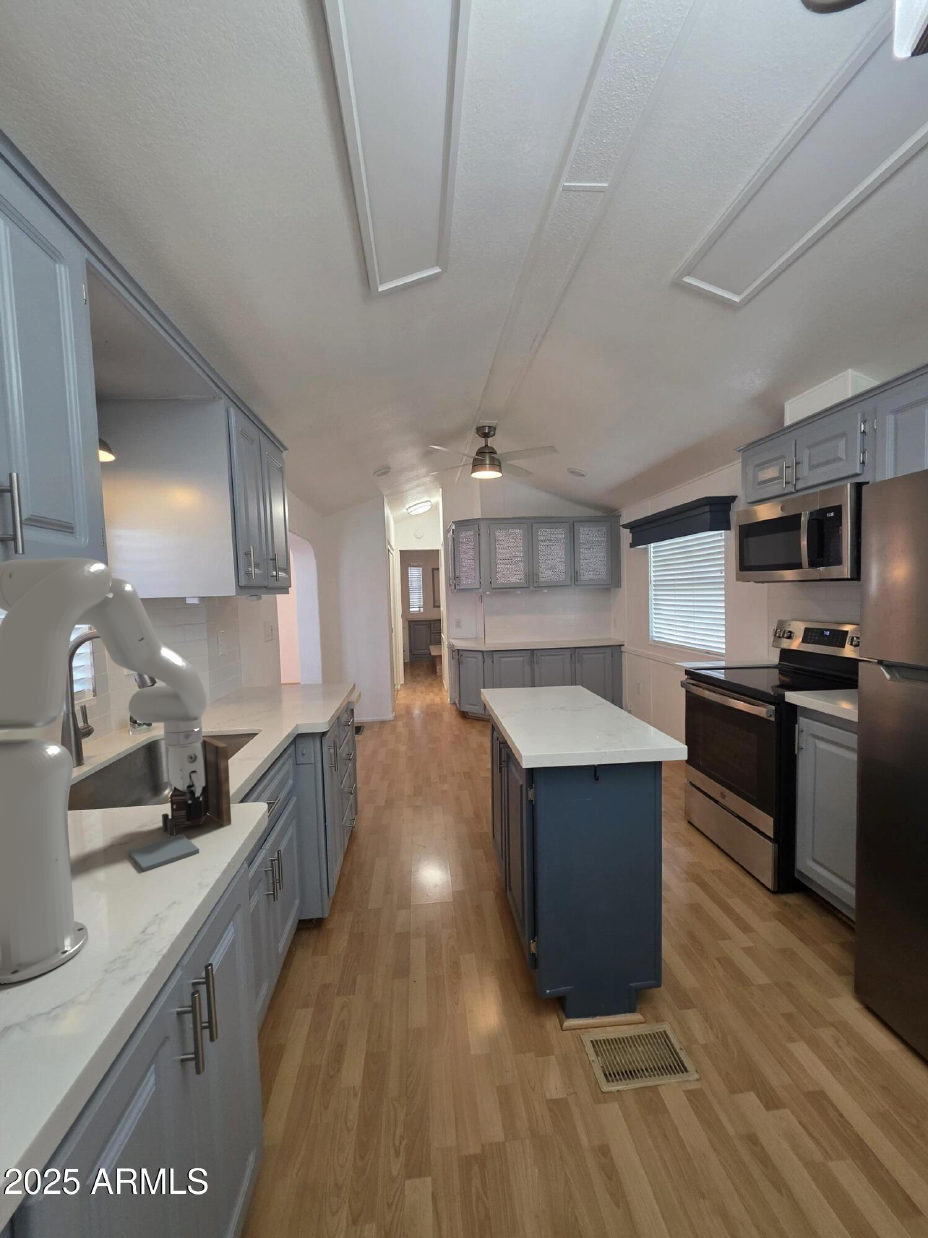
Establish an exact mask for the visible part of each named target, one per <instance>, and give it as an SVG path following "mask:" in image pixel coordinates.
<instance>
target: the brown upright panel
mask: <svg viewBox="0 0 928 1238" xmlns="http://www.w3.org/2000/svg"><path fill="white" fill-rule="evenodd" d="M202 740H203V741H202V742H201V743H200V744H201V747H202V752H203V759H204V769H205V780H206V796H207V813H208V814H209V815H210V816H209V815H208V814H207V815H208V816H209V817H211V818H212V819H213V818H214V821H216V822H218V823H219V824H220V825H222V826H223V827H226V826H229V825H232V812H231V809H232V808H231V807H232V806H231V790H230V789H231V788H230V786H231V785H230V769H229V768H230V767H229V765H230V764H229V749H228V748H229V747H228V746H229V745H227V744H225V743H223V742H221V741H219V740H216V739H214V738H211V737H209V736H202ZM161 823H162V824H161V825H162V826H161V827H162V831H163V832H164V833H166V832H167V835H168V837H169V838H171V837H174V836H176V827H175V824H174V819H173V818H171V817H170V815H169V813H167V812H166V813H163V814H161Z"/></svg>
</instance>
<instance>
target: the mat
mask: <svg viewBox="0 0 928 1238" xmlns="http://www.w3.org/2000/svg"><path fill="white" fill-rule="evenodd" d="M199 853H200V848H198V846H196V845H195V844H194V842H192V841H191V840H190V839H188V838H187V837H186V836H185V835H183V834H182V833H181V834H178V835H174V836H171V837H168V838H165V839H162V840H159V841H155V842H153V843H150V844H146V845H142V846H139V847H137V848H133V849H130V850H128V856H129V857H130V858H131V859H132V860H133V862H134V863H135V864H136V865H137V866H138V868H140V870H142V872H147V871H151V870H153V869H155V868H159V867H162V866H164V865H167V864H171V863H173V862H177V861H179V860H181V859H185V858H188V857H191V856H194V855H196V854H199Z"/></svg>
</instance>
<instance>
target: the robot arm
mask: <svg viewBox="0 0 928 1238" xmlns="http://www.w3.org/2000/svg"><path fill="white" fill-rule="evenodd" d="M0 609H1V610H3V611H4V612H6V613H5V614H4V615H5V616H4V617H3V619H2V620H1V622H0V731H3V730H4V731H6V730H7V731H13V730H14V731H15V730H17V731H18V730H30V729H31V730H32V729H38V728H44V727H46V726H49V725H51V724H53V723H55V722H56V721H57V720H58V719H59V718H60V717H61V715H62V713H63V710H64V706H65V700H66V693H67V678H68V677H67V676H68V663H69V651H70V650H69V649H70V642H71V637H72V634H73V631H74V629H75V628H76V626H83V625H89V626H92V627H94V628H95V630H96V632H97V634H98V636H99V638H100V639H101V642H102V644H103V646H104V647H105V649H106V652H107V653H108V656H109V657H110V659H111V661H112V662H113V663H114V664H116V665H117V666H118V667H121V668H124V669H126V670H128V671H132V672H135V673H138V674H141V675H144V676H146V677H147V676H148V677H151V678H153V679H156V680H159V681H160V682H162V683H164V685H158V686H146V687H142V688H140V689H139V690H137V691H135V693H133V694H132V696H131V697H130V700H129V702H128V712H129V714H130V716H131V717H132V718H133V719H134V720H135V721H137V722H140V723H144V724H160V723H161V724H163V737H164V747H166V748H168V751H167V754H168V755H167V756H168V757H167V760H168V761H167V763H168V764H167V765H168V766H167V769H168V770H167V771H168V779H169V780H168V781H169V782H170V784H171V788H170V789H171V793H172V792H173V791H174V790H175V789H176V788H178V789H179V790H181V791H183V792H185V796H186V800H187V803H185V808H186V821H188V822H189V821H192V820H196V819H199V818H201V817H202V796H201V795H202V793H201V791H202V787H204V786H205V785H206V780H205V769H204V759H203V752H202V747H201V742H202V741H203V740H202V737H203V723H202V722H203V721H202V717H203V715H204V714H205V712H206V709H207V705H208V703H207V695H206V691H205V687H204V686H203V683H202V681H201V678H200V676H199V673H198V671H197V670H196V668H194V666H193V665H192V664H191V663H190V662H189V661H188V660H186V659H185V658H184V657H182V656H181V655H180V654H179V653H177V652H176V651H175V650H173V649H171V648H170V647H169V646H166V645H165V644H163V643H162V642H161V641H160V640H159V639H158V636H157V634H156V631H155V629H154V628H153V626H152V625H153V624H152V622H151V620H150V618H149V616H148V613H147V611H146V609H145V607H144V605H143V603H142V600H141V597H140V595H139V594H138V592H137V590H136V588H135V587H134V586H133V584H131V582H128V581H127V580H125V579H121V578H117V577H112V572H111V570H110V569H109V567H108V566H107V565H106V564H105V563H104V562H103V561H99V560H97V559H92V558H88V557H87V558H86V557H51V558H27V559H25V558H24V559H11V560H6V561H2V562H1V563H0ZM73 761H74V760H73V757H72V755H71V753H70V752H69V750H68V749H67V747H65V746H64V745H62V744H61V743H58V742H56V741H53V740H49V739H42V738H11V739H10V738H7V739H6V738H5V739H4V738H3V739H0V983H1V984H0V985H2V984H4V983H6V984H10V983H17V982H21V981H25V980H29V979H30V978H31V979H32V978H35V977H37V976H40V975H42V974H45V973H47V972H49V971H52V970H53V969H55V968H57V967H59V966H61V965H62V964H64V963H66V962H67V961H69V960H70V959H72V958H73V957H75V956H76V954H78V953H79V952H80V951H81V950H82V949H83V948H84V946H85V945H86V943H87V941H88V938H89V937H88V936H89V935H88V927H87V925H85V924H83V923H82V922H79V921H75V915H74V914H75V912H74V896H73V884H72V883H73V882H72V881H73V880H72V868H71V864H72V863H71V852H70V850H71V849H70V838H69V837H70V836H69V818H68V817H69V815H68V813H69V811H68V810H69V797H70V789H71V786H72V785H71V784H72V778H73V773H74V772H73V771H74V762H73ZM189 786H193V787H191V788H187V787H189ZM192 791H194V792H192ZM189 792H192V794H191V796H190V793H189Z"/></svg>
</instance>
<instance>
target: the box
mask: <svg viewBox="0 0 928 1238" xmlns="http://www.w3.org/2000/svg"><path fill="white" fill-rule="evenodd" d="M191 787H193V786H189V787H187V788H191ZM192 792H194V791H192ZM192 792H189V793H190V796H191V794H192ZM201 793H202V795H201V796H202V817H201V818H199V819H196V820H192V821H189V822H188V821H186V808H185V803H187V800H186V796H185V792H183V791H181V790H179V789H178V788H176V789H175V790H174V791H173V792H172V791H171V794H169V796H170V797H169V799H170V800H169V802H170V816H171V817H170V818H173V819H174V824H175V828H178V827H189V826H196V825H197V826H198V825H202V823H203V821H204V819H205V817H206V816H207V815H208V814H207V796H206V785H205V786H204V787H202V791H201Z"/></svg>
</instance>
